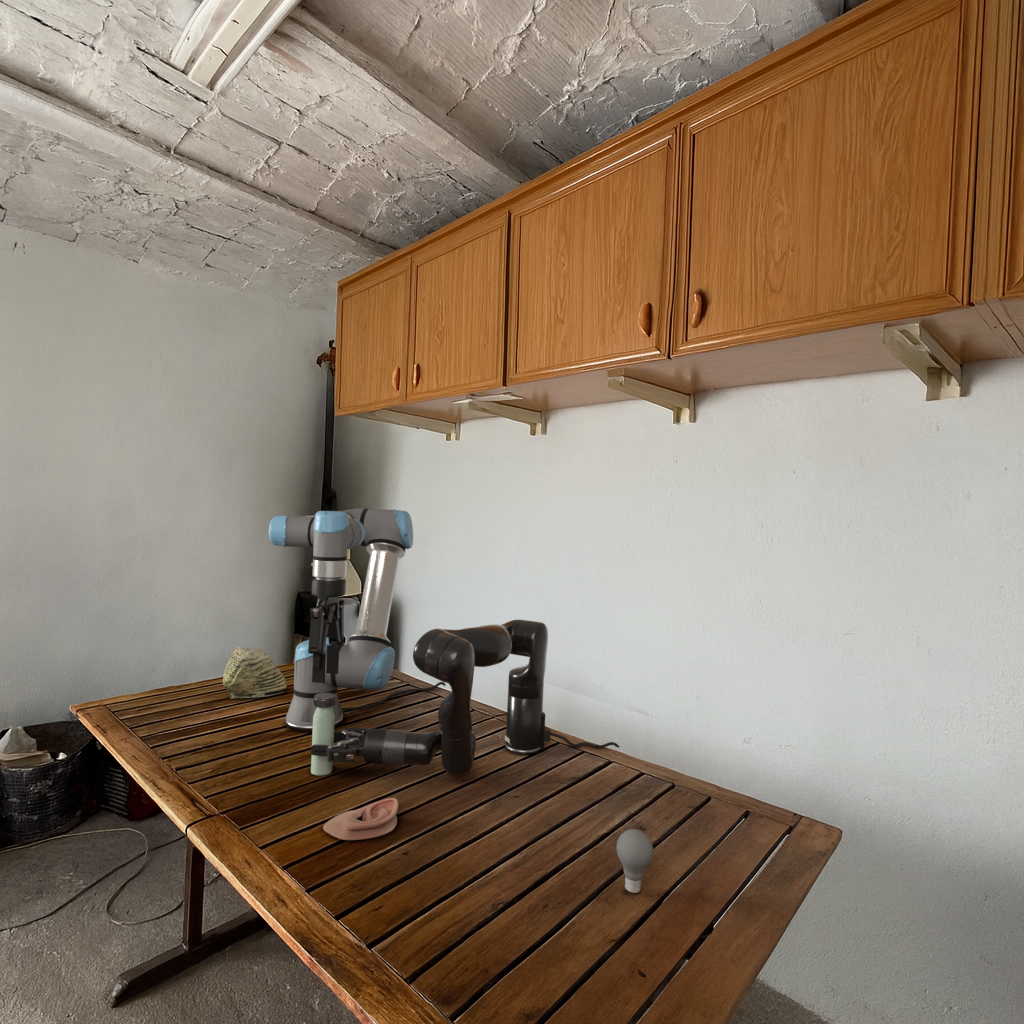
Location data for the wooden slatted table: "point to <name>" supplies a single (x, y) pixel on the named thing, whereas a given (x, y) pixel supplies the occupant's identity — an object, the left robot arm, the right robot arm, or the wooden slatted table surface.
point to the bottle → (322, 739)
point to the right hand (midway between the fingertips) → (318, 742)
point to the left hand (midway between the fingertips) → (325, 677)
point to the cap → (324, 700)
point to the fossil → (252, 674)
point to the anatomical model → (364, 821)
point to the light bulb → (634, 857)
